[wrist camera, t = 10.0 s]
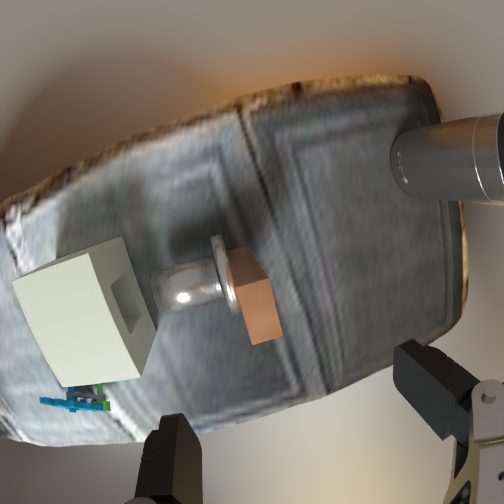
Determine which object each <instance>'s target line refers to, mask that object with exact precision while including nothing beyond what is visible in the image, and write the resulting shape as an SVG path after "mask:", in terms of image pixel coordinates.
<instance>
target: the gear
mask: <svg viewBox="0 0 504 504" xmlns="http://www.w3.org/2000/svg"><path fill="white" fill-rule="evenodd" d="M66 395H67V400H65V401H64V400H63V399H56V398H55V399H52V398H46V397H43V398H42V397H40V403H42V404H45V405H51V406H55V407H63V408H66V409H69V412H75V413H76V410H86V411H87V410H91V411H111V410H110V402H108V401H106V397H105V395H102V383H99V384H97V395H94V394H80V393H75V386H72V387H68V392H66ZM77 397H83V398H95V400H97V401H91V403H81V402H79V401H77ZM98 404H100V405H98Z"/></svg>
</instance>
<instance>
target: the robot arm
mask: <svg viewBox="0 0 504 504" xmlns="http://www.w3.org/2000/svg"><path fill="white" fill-rule="evenodd" d="M391 167H392V171H393V174H394V177H395V179H396V181H397V183H398V184H399V186H400V187H401V188H402V189H403V191H404V192H406V193H407V194H409V195H410V196H413V197H421V198H434V199H444V200H456V201H466V202H475V203H485V204H493V205H502V206H504V111H503V112H496V113H491V114H485V115H480V116H474V117H469V118H464V119H459V120H454V121H450V122H445V123H440V124H436V125H431V126H427V127H422V128H418V129H414V130H410V131H406V132H404V133H402V134H400V135H399V136H398V137H397V138H396V140H395V141H394V144H393V146H392V150H391ZM393 381H394V384H395V386H396V388H397V390H398V391H399V392H400V393H401V394H402V395H403V396H404V398H405V399H406V400H407V401H408V402H409V403H410V404H411V405H412V407H413V408H414V409H415V410H416V411H417V412H418V413H419V415H420V416H421V417H422V418H423V419H424V420H425V421H426V423H427V424H428V425H429V426H430V427H431V428H432V429H433V430H434V432H435V433H436V434H437V435H438V436H439V437H440V438H441V439H442V440H444V439H446V438H447V437H448V436H450V435H453V436H454V437H455V440H454V448H453V460H452V470H451V478H450V484H449V487H448V490H447V493H446V495H445V498H444V502H443V504H504V382H503V383H501V382H499V381H497V380H484V381H482V382H481V381H480V380H478V379H477V378H476V377H474V376H473V375H472V374H470V373H469V372H468V371H467V370H465V369H464V368H463V367H462V366H460V365H459V364H458V363H456V362H454V360H452V359H451V358H450V357H447V355H446V354H445V353H443V352H442V351H441V350H439V349H437V348H434V347H431V346H428V345H426V346H424V347H423V346H422V345H421V344H419V343H418V342H417V341H416V340H414V339H411V340H409V341H407V342H405V343H403V344H401V345H398V346H396V347H395V348H394V362H393ZM141 462H142V463H141V464H140V469H139V474H138V480H137V485H136V491H135V496H134V498H133V499H131V500H128V501H127V502H126V503H124V504H203V493H202V449H201V445H200V442H199V439H198V437H197V436H196V434H195V432H194V431H193V429H192V427H191V426H190V424H189V422H188V421H187V419H186V417H185V416H184V414H182V413H178V414H171V415H164V416H162V417H161V419H160V424H159V430H152V431H151V433H150V434H149V436H148V437H147V439H146V440H145V443H144V448H143V454H142V458H141Z"/></svg>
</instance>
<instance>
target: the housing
mask: <svg viewBox="0 0 504 504" xmlns="http://www.w3.org/2000/svg"><path fill="white" fill-rule="evenodd" d="M12 283H13V286H14V289H15V292H16V294H17V297H18V300H19V302H20V305H21V307H22V310H23V312H24V314H25V317H26V319H27V321H28V323H29V326H30V328H31V330H32V332H33V334H34V336H35V338H36V341H37V343H38V345H39V347H40V348H41V350H42V352H43V354H44V356H45V358H46V360H47V362H48V363H49V365H50V367H51V369H52V371H53V372H54V374H55V376H56V377H57V379H58V381H59V382H60V384H61V386H62V387H72V386H82V385H91V384H99V383H107V382H114V381H121V380H127V379H133V378H139V377H141V376H142V373H143V370H144V367H145V364H146V361H147V358H148V355H149V352H150V349H151V346H152V344H153V341H154V338H155V335H156V332H157V331H156V329H155V326H154V324H153V321H152V319H151V316H150V314H149V311H148V309H147V306H146V304H145V301H144V298H143V296H142V293H141V290H140V288H139V285H138V282H137V279H136V276H135V274H134V271H133V268H132V265H131V262H130V259H129V256H128V253H127V249H126V246H125V243H124V240H123V236H121V237H118V238H115V239H112V240H109V241H106V242H103V243H100V244H97V245H94V246H91V247H89V248H86V249H83V250H80V251H77V252H74V253H72V254H69V255H66V256H63V257H61V258H58V259H55V260H53V261H51V262H49V263H47V264H45V265H43V266H41V267H39V268H37V269H35V270H33V271H31V272H29V273H27V274H25V275H23V276H21V277H19V278H17V279H15V280H13V281H12Z"/></svg>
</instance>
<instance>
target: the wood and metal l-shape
mask: <svg viewBox="0 0 504 504" xmlns="http://www.w3.org/2000/svg"><path fill="white" fill-rule="evenodd" d="M211 243H212V248H213V252H214V256H215V259H214V256H213V254H212V255H208V256H205V257H201V258H198V259H194V260H190V261H187V262H183V263H180V264H176V265H173V266H169V267H166V268H162V269H159V270H155V271H152V272H151V275H150V284H151V290H152V294H153V298H154V301H155V303H156V306H157V308H158V310H159V311H160V313H161V314H162V315H164V316H166V315H170V314H174V313H178V312H182V311H185V310H189V309H193V308H197V307H201V306H204V305H208V304H212V303H215V302H219V301H223V300H225V295H226V299H227V302H228V305H229V308H230V310H231V313H232V315H237V314H240V313H243V315H244V319H245V322H246V325H247V329H248V332H249V335H250V339H251V342H252V345H254V344H257V343H261V342H264V341H268V340H271V339H274V338H278V337H281V336H283V335H282V330H281V326H280V322H279V318H278V314H277V310H276V306H275V302H274V297H273V293H272V289H271V285H270V281H269V278H268V276H267V275H266V273H265V272H264V271H263V269H262V268H261V266H260V265H259V263H258V262H257V260H256V259H255V257H254V256H253V255H252V253H251V252H250V250H249V249H248V247H247V246H242V247H239V248H235V249H231V250H228V251H226V249H225V245H224V242H223V238H222V235H221V234H219V235H215V236H212V237H211ZM215 260H216V262H215ZM216 264H217V265H216ZM217 268H218V269H217ZM221 282H222V283H221ZM223 289H224V290H223ZM224 292H225V295H224Z"/></svg>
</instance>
